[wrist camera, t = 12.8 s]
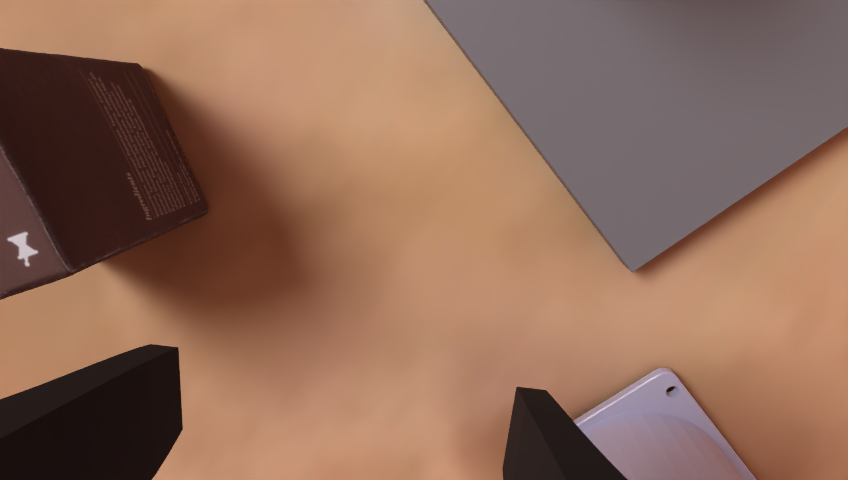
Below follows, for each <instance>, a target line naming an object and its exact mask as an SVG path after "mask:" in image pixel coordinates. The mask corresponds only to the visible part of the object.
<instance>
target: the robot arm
mask: <svg viewBox="0 0 848 480" xmlns="http://www.w3.org/2000/svg"><path fill="white" fill-rule="evenodd" d="M671 386H675V388H674V389H673V390H672V391H670V392H666V390H667V389H668V388H669V387H671ZM182 430H183V427H182V408H181V389H180V370H179V351H178V347H169V346H161V345H152V344H150V345H146V346H143V347H139V348H136V349H133V350H130V351H127V352H124V353H122V354H119V355H116V356H114V357H111V358H108V359H106V360H103V361H101V362H98V363H95V364H93V365H90V366H88V367H85V368H83V369H80V370H77V371H75V372H72V373H70V374H67V375H65V376H62V377H59V378H57V379H54V380H52V381H49V382H47V383H44V384H42V385H39V386H36V387H34V388H31V389H28V390H25V391H23V392H20V393H17V394H14V395H12V396H9V397H6V398H3V399H0V480H152V478H153V477H154V476H155V474H156V473H157V471H158V470H159V468H160V467H161V465H162V463H163V462H164V460H165V459H166V457H167V455H168V454H169V452H170V450H171V449H172V447H173V445H174V443H175V442H176V440H177V438H178V437H179V435H180V433H181V431H182ZM503 480H756V478H755V477H754V476H753V474H752V473H751V472H750V471H749V469H748V468H747V467H746V465H745V464H744V463H743V461H742V460H741V459H740V458H739V456H738V455H737V454H736V452H735V451H734V450H733V449H732V447H731V446H730V445H729V443H728V442H727V441H726V439H725V438H724V437H723V436H722V434H721V433H720V432H719V430H718V429H717V428H716V427H715V425H714V424H713V423H712V421H711V420H710V419H709V417H708V416H707V415H706V414H705V412H704V411H703V410H702V408H701V407H700V406H699V405H698V403H697V402H696V401H695V399H694V398H693V397H692V395H691V394H690V393H689V392H688V390H687V389H686V388H685V386H684V385H683V384H682V383H681V381H680V380H679V379H678V377H677V376H676V375H675V374H674V372H673V371H671V370H670V369H668V368H659V369H656V370H654V371H653V372H651V373H649V374H648V375H646V376H645V377H643V378H641V379H640V380H638V381H637V382H635V383H633V384H632V385H630V386H628V387H627V388H625V389H624V390H622V391H620V392H619V393H617V394H616V395H614V396H612V397H611V398H609V399H607V400H606V401H604V402H603V403H601V404H599V405H598V406H596V407H595V408H593V409H591V410H590V411H588V412H586V413H585V414H583V415H582V416H580V417H578V418H577V419H575V420H574V421H573V420H572V419H571V418H570V417H569V416H568V415H567V413H566V412H565V411H564V410H563V409H562V408H561V407H560V405H559V404H558V403H557V402H556V401H555V400H554V398H553V397H552V396H551V395H550V394H549V393H548V392H547V391H546V390H539V389H531V388H522V387H517V388H516V393H515V399H514V405H513V411H512V417H511V423H510V428H509V434H508V440H507V446H506V452H505V458H504V464H503Z"/></svg>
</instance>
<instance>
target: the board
mask: <svg viewBox="0 0 848 480" xmlns="http://www.w3.org/2000/svg"><path fill="white" fill-rule="evenodd" d="M424 2H425V3H426V4H427V6H428V7H429V8H430V9H431V11H432V12H433V13H434V15H435V16H436V17H437V19H438V20H439V21H440V23H441V24H442V25H443V27H444V28H445V29H446V31H447V32H448V33H449V35H450V36H451V37H452V39H453V40H454V41H455V43H456V44H457V45H458V46H459V48H460V49H461V50H462V52H463V53H464V54H465V56H466V57H467V58H468V60H469V61H470V62H471V64H472V65H473V66H474V68H475V69H476V70H477V72H478V73H479V74H480V76H481V77H482V78H483V80H484V81H485V82H486V84H487V85H488V86H489V87H490V89H491V90H492V91H493V93H494V94H495V95H496V97H497V98H498V99H499V101H500V102H501V103H502V105H503V106H504V107H505V109H506V110H507V111H508V113H509V114H510V115H511V117H512V118H513V119H514V121H515V122H516V123H517V125H518V126H519V127H520V128H521V130H522V131H523V132H524V134H525V135H526V136H527V138H528V139H529V140H530V142H531V143H532V144H533V146H534V147H535V148H536V150H537V151H538V152H539V154H540V155H541V156H542V158H543V159H544V160H545V162H546V163H547V164H548V165H549V167H550V168H551V169H552V171H553V172H554V173H555V175H556V176H557V177H558V179H559V180H560V181H561V183H562V184H563V185H564V187H565V188H566V189H567V191H568V192H569V193H570V195H571V196H572V197H573V199H574V200H575V201H576V203H577V204H578V205H579V206H580V208H581V209H582V210H583V212H584V213H585V214H586V216H587V217H588V218H589V220H590V221H591V222H592V224H593V225H594V226H595V228H596V229H597V230H598V232H599V233H600V234H601V236H602V237H603V238H604V240H605V241H606V242H607V244H608V245H609V246H610V247H611V249H612V250H613V251H614V253H615V254H616V255H617V257H618V258H619V259H620V261H621V262H622V263H623V264H624V265H625V266H626V267H627V268H628V269H629V270H630V271H631V272H634V271H635V270H637V269H638V268H640V267H641V266H643V265H644V264H645V263H647V262H648V261H650V260H651V259H653V258H654V257H656V256H657V255H659V254H660V253H662V252H663V251H665V250H666V249H668V248H669V247H671V246H672V245H674V244H675V243H676V242H678V241H679V240H681V239H682V238H684V237H685V236H687V235H688V234H690V233H691V232H693V231H694V230H696V229H697V228H699V227H700V226H702V225H703V224H705V223H706V222H708V221H709V220H710V219H712V218H713V217H715V216H716V215H718V214H719V213H721V212H722V211H724V210H725V209H727V208H728V207H730V206H731V205H733V204H734V203H736V202H737V201H739V200H740V199H741V198H743V197H744V196H746V195H747V194H749V193H750V192H752V191H753V190H755V189H756V188H758V187H759V186H761V185H762V184H764V183H765V182H767V181H768V180H770V179H771V178H772V177H774V176H775V175H777V174H778V173H780V172H781V171H783V170H784V169H786V168H787V167H789V166H790V165H792V164H793V163H795V162H796V161H798V160H799V159H801V158H802V157H803V156H805V155H806V154H808V153H809V152H811V151H812V150H814V149H815V148H817V147H818V146H820V145H821V144H823V143H824V142H826V141H827V140H829V139H830V138H832V137H833V136H834V135H836V134H837V133H839V132H840V131H842V130H843V129H845V128H846V127H848V0H424Z"/></svg>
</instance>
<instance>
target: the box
mask: <svg viewBox="0 0 848 480" xmlns="http://www.w3.org/2000/svg"><path fill="white" fill-rule="evenodd" d="M207 213H208V207H207V204H206V202H205V201H204V198H203V196H202V194H201V192H200V190H199V188H198V185H197V183H196V181H195V179H194V177H193V175H192V172H191V170H190V169H189V166H188V164H187V162H186V160H185V158H184V156H183V154H182V152H181V150H180V148H179V146H178V144H177V142H176V140H175V137H174V135H173V133H172V131H171V129H170V127H169V124H168V122H167V120H166V118H165V116H164V114H163V111H162V109H161V107H160V105H159V103H158V101H157V99H156V96H155V94H154V92H153V90H152V88H151V86H150V84H149V81H148V79H147V77H146V75H145V73H144V71H143V69H142V67H141V66H140V65H139V64H138V63H127V62H118V61H109V60H101V59H93V58H82V57H74V56H67V55H59V54H46V53H35V52H27V51H20V50H11V49H3V48H0V300H1V299H4V298H7V297H9V296H12V295H15V294H19V293H22V292H25V291H27V290H30V289H34V288H37V287H39V286H42V285H45V284H49V283H52V282H55V281H57V280H60V279H63V278H66V277H69V276H71V275H73V274H75V273H77V272H79V271H82V270H84V269H86V268H88V267H90V266H92V265H94V264H97V263H99V262H101V261H104V260H106V259H108V258H111V257H113V256H115V255H118V254H120V253H122V252H124V251H126V250H129V249H131V248H133V247H135V246H137V245H140V244H142V243H144V242H147V241H149V240H151V239H153V238H156V237H158V236H160V235H162V234H164V233H166V232H168V231H170V230H172V229H174V228H177V227H179V226H181V225H183V224H185V223H188V222H190V221H192V220H194V219H196V218H199V217H201V216H203V215H205V214H207Z"/></svg>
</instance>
